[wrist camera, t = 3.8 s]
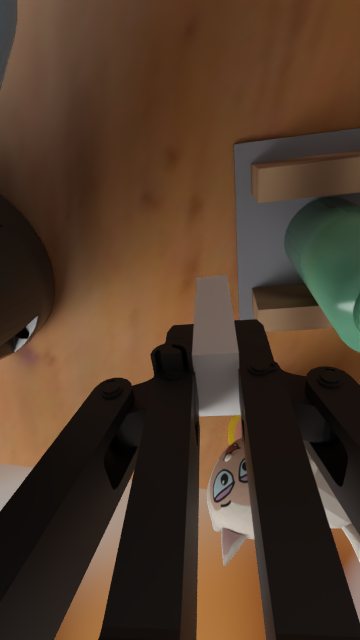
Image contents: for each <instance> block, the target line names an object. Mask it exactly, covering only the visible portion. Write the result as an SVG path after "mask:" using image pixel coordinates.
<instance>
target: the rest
mask: <svg viewBox="0 0 360 640" xmlns="http://www.w3.org/2000/svg"><path fill="white" fill-rule="evenodd" d="M358 192H360V150H357V151H349V152H341V153H332V154H324V155H316V156H308V157H299V158H291V159H283V160H274V161H266V162H258V163H251V194H252V195H253V196H254V198H255V199H256V200H257V202H258V203H264V202H274V201H283V200H292V199H302V198H311V197H320V196H330V195H339V194H348V193H358ZM252 310H253V314H254V318H255V319H257V320H258V321H259V322H260V323H262V324H263V325H264V329H265V332H275V331H291V330H307V329H323V328H334V327H333V326H332V324H331V323H330V321H329V320H328V318H327V317H326V315H325V314H324V312H323V310H322V309H321V307H320V306H319V304H318V303H317V301H316V300H315V298H314V297H313V295H312V294H311V292H310V291H309V289H308V288H307V286H306V284H299V285H286V286H273V287H260V288H252Z"/></svg>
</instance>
